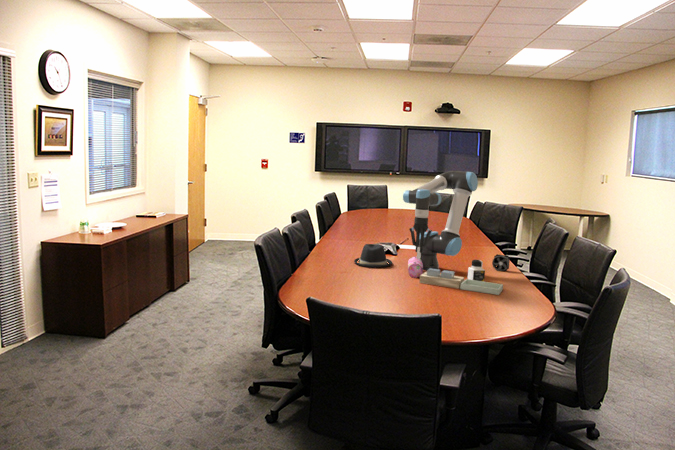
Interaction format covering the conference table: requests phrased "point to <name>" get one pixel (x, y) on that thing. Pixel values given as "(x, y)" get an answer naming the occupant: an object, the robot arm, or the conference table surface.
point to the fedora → (373, 256)
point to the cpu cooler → (501, 262)
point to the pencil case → (415, 267)
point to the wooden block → (441, 281)
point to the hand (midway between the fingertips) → (418, 258)
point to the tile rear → (433, 272)
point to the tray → (481, 286)
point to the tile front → (447, 274)
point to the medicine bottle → (476, 271)
